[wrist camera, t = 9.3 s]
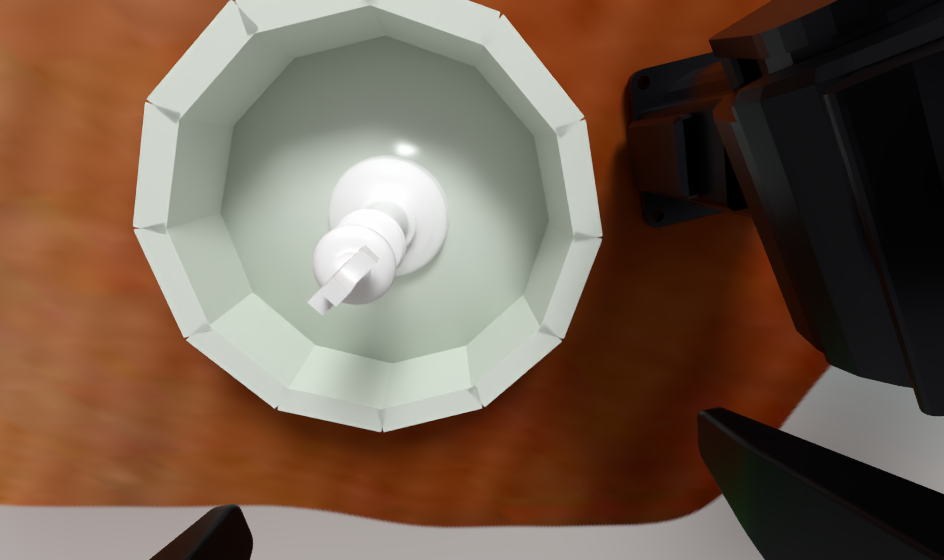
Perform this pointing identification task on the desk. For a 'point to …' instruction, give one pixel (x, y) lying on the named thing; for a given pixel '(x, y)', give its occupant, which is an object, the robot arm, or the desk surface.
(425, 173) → the chess piece
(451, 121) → the bowl
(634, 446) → the desk surface
